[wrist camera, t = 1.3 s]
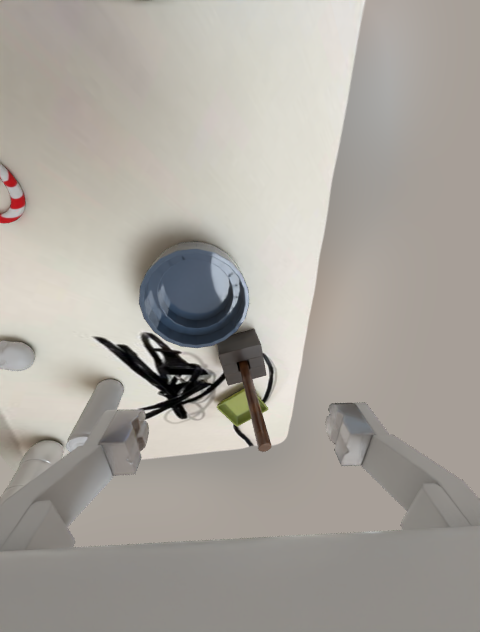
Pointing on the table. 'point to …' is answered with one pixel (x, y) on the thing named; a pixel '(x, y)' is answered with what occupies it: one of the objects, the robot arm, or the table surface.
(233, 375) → the holder
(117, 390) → the beverage can
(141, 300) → the bowl
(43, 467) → the plastic bottle
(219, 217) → the table surface
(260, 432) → the stick
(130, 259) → the table surface
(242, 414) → the saucer
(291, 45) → the table surface
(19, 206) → the candy cane
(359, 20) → the table surface
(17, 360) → the smooth white sculpture
